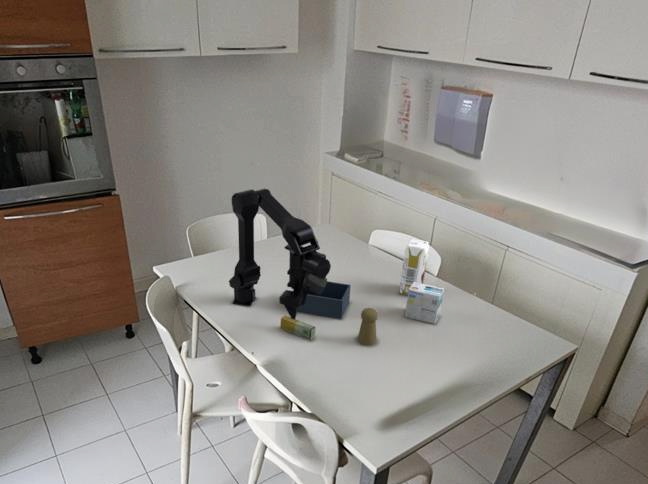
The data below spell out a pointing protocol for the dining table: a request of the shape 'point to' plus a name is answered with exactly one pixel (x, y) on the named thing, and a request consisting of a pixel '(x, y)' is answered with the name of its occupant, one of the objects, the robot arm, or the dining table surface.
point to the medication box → (297, 327)
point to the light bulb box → (424, 302)
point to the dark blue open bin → (327, 301)
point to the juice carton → (413, 264)
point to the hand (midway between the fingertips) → (298, 311)
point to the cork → (368, 327)
